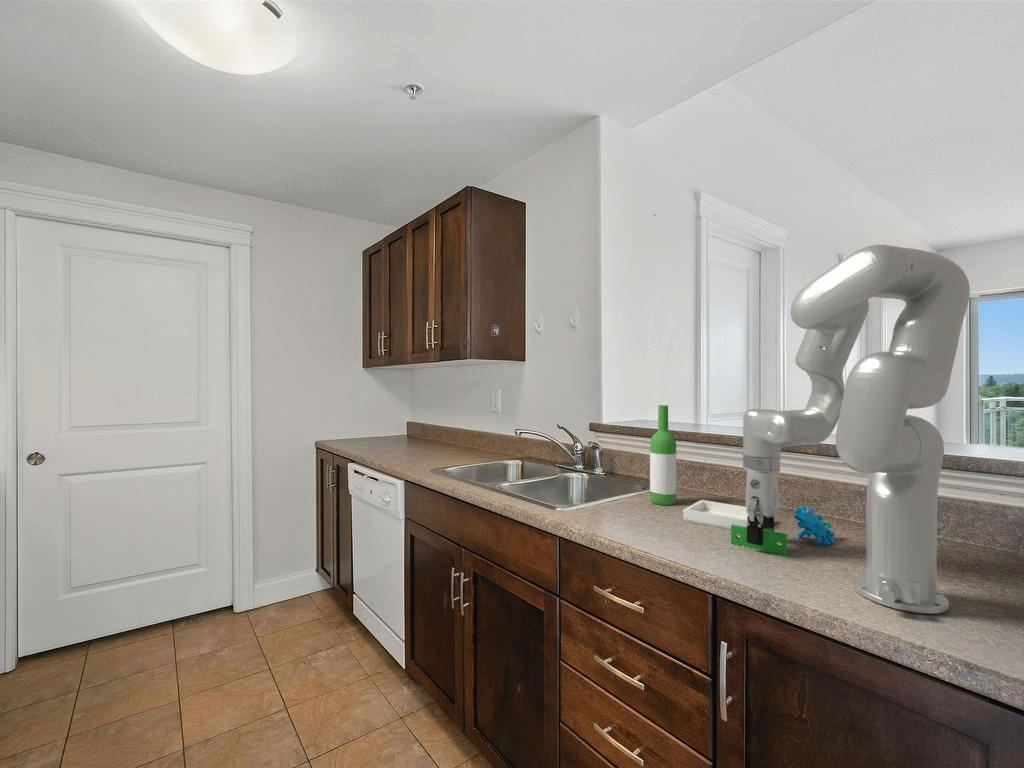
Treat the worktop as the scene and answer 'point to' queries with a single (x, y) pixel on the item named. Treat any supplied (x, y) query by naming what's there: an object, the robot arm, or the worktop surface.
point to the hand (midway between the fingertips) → (760, 538)
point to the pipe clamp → (768, 540)
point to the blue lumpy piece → (814, 526)
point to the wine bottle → (663, 462)
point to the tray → (716, 514)
